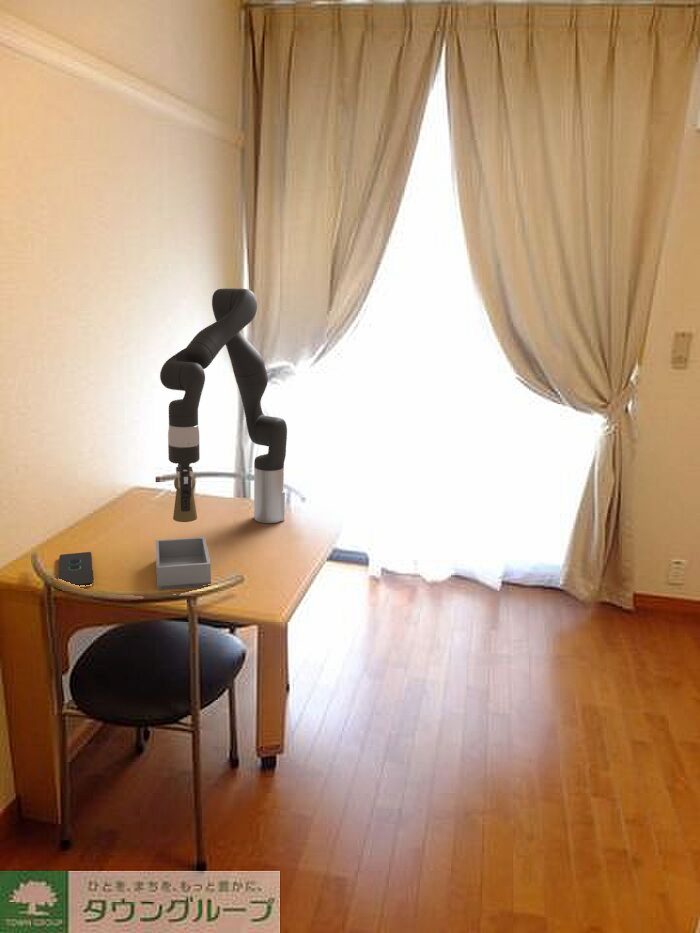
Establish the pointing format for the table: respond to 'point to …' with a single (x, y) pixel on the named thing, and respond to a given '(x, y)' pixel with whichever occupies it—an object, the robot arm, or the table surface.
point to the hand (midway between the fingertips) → (184, 507)
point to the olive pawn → (178, 514)
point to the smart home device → (76, 568)
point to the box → (182, 563)
